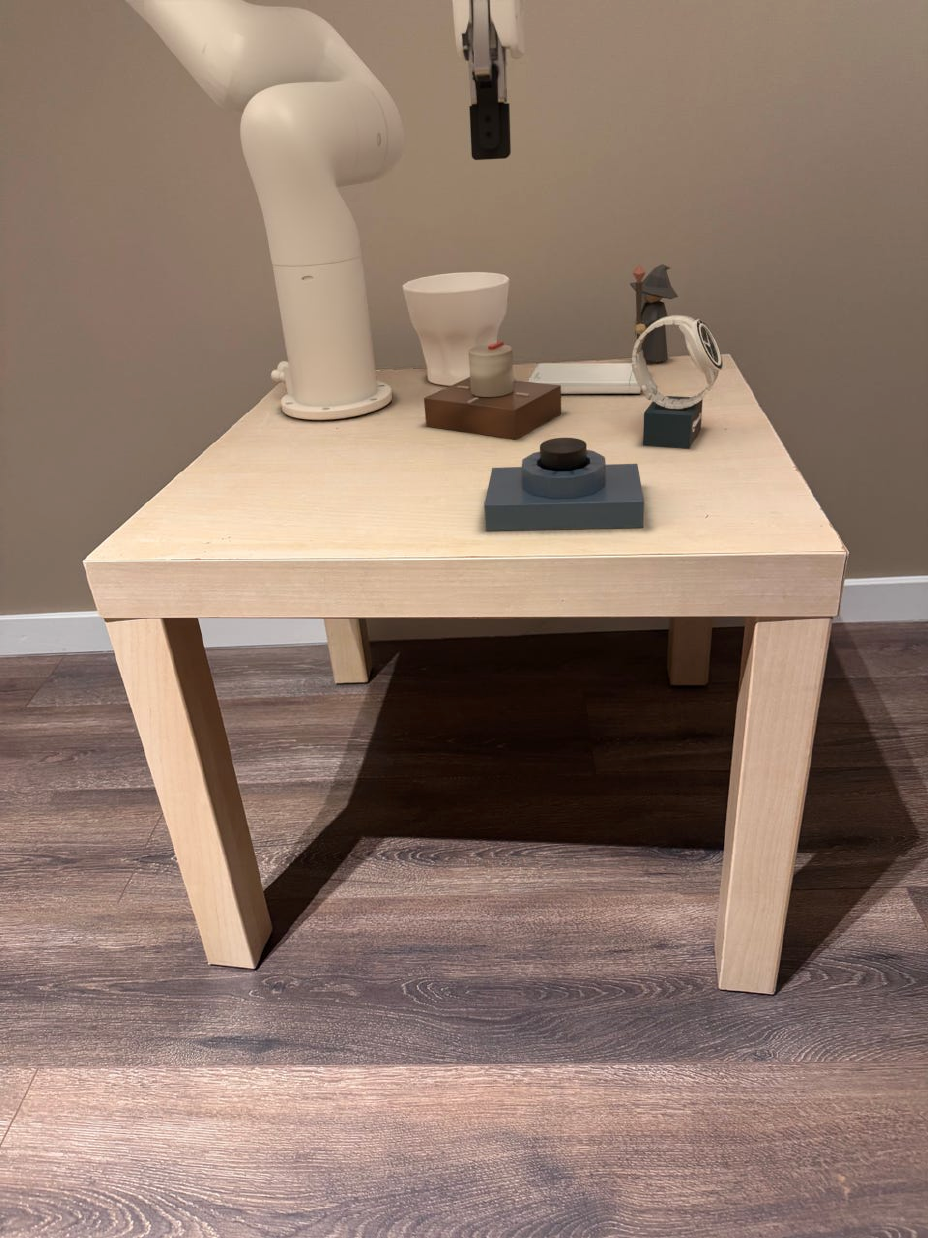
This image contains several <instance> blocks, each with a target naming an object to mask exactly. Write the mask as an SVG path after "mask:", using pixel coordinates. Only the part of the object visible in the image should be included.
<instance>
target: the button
mask: <svg viewBox="0 0 928 1238" xmlns="http://www.w3.org/2000/svg"><path fill="white" fill-rule="evenodd" d="M587 448H588V447H587V442H586V441H584V440H582V439H579V438H575V437H556V438H550V439H547V440H544V441H542V442H541V444H540V445H539V452H540V467H541V468H542V469H544V470H550V471H556V472H558V471H574V470H578V469H582V468H584V467H586V466H587V450H588V449H587Z"/></svg>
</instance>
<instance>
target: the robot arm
mask: <svg viewBox="0 0 928 1238" xmlns="http://www.w3.org/2000/svg"><path fill="white" fill-rule="evenodd" d="M124 1H125V2H126V3H127V4H128V5H129V6H130V7H131V9H133V10H134V11H135V12H136V13H137V14H138V15H139V16H140V17H141V18H142V19H143V20H144V21H145V22H146V23H147V24H148V25H149V26H150V27H151V28H152V30H154V31H155V33H156V34H157V35H158V36H159V37H160V39H161V41H162V42H163V44H165V46H166V47H167V49H168V50H170V52H171V53H172V54H173V55H174V56H175V58H176V59H177V60H178V61H179V63H180V64H181V65H182V66H183V67H184V68H185V70H186V71H187V72H188V73H189V74H190V75H191V77H192V78H193V80H195V82H196V83H197V84H198V86H199V87H200V88H201V89H202V90H203V91H204V93H205V94H206V95H207V96H208V97H209V98H210V99H211V100H212V101H213V102H214V103H215V104H216V105H217V106H218V107H220V108H221V109H222V110H224V111H226V112H228V113H231V114H234V115H235V114H236V115H241V118H240V126H239V135H240V137H239V138H240V143H241V148H242V153H243V157H244V160H245V162H246V166H247V169H248V172H249V175H250V177H251V180H252V183H253V186H254V189H255V193H256V196H257V198H258V202H259V206H260V210H261V214H262V218H263V223H264V228H265V233H266V238H267V243H268V250H269V255H270V260H271V264H272V272H273V276H274V277H273V278H274V283H275V290H276V296H277V301H278V308H279V313H280V319H281V327H282V331H283V339H284V343H285V344H284V345H285V350H286V357H287V360H282V361H280V362H279V363H278V365H277V368H276V369H273V370H272V371H271V374H270V379H271V380H272V381H273V382H275V383H282V384H283V383H285V387H286V394H285V395H283V396H282V398H281V399H280V405H281V411H282V412H283V413H284V414H285V415H287V416H289V417H292V418H295V419H300V420H311V421H328V420H337V419H338V420H339V419H347V418H352V417H357V416H362V415H366V414H369V413H372V412H376V411H377V410H380V409H382V408H385V407H386V406H388V404H390V402H392V400H393V390H392V388H391V386H390V385H388V384H387V383H384V382H382V381H378V380H377V373H376V372H377V370H376V364H375V363H376V362H375V354H374V353H375V352H374V345H373V337H372V328H371V327H372V326H371V319H370V311H369V302H368V294H367V285H366V276H365V268H364V261H363V254H362V245H361V238H360V233H359V230H358V229H359V228H358V227H357V223H356V221H355V219H354V217H353V214H352V213H351V210H350V209H349V207H348V205H347V204H346V201H344V198H343V197H342V195H341V193H340V191H339V188H341V187H342V188H343V187H348V186H355V185H361V184H365V183H366V184H367V183H371V182H374V181H378V180H380V179H383V178H385V177H387V175H389V174H391V173H392V172H393V171H394V170H395V168H396V167H397V166H398V164H399V163H400V161H401V159H402V156H403V153H404V148H405V130H404V124H403V121H402V116H401V114H400V112H399V108H398V107H397V105H396V103H395V101H394V99H393V98H392V96H391V94H390V93H389V92H388V90H387V89H386V87H385V86H384V85H383V84H382V83H381V81H380V80H379V79H378V78H377V76H376V75H375V74H374V73H373V72H372V71H371V70H370V68H369V67H368V66H367V65H366V63H364V61H363V60H362V59H361V58H360V57H359V55H358V54H357V53H356V52H355V51H354V50H353V49H352V48H351V46H350V45H349V44H348V43H347V42H346V41H345V39H344V38H343V37H342V36H341V35H340V33H338V31H337V30H336V29H335V28H334V27H333V26H332V25H331V24H330V23H329V22H328V21H326V20H325V19H324V18H322V17H321V16H319V15H317V14H316V13H314V12H312V11H311V10H309V9H304V8H301V7H296V6H295V7H293V6H276V5H275V6H273V5H271V6H270V5H261V4H254V3H250V2H248V1H245V0H124ZM523 1H524V0H451V3H452V16H453V29H454V38H455V39H454V40H455V48H456V52H457V55H458V57H460V58H461V59H462V60H464V61H465V62H468V76H469V78H468V79H469V94H470V105H469V106H468V108H469V109H468V110H469V126H470V127H469V128H470V129H469V131H470V150H471V151H470V153H471V157H472V159H473V160H474V161H485V160H486V161H487V160H499V159H500V160H502V159H508V158H509V157H510V156H511V152H512V149H511V148H512V145H511V112H510V111H511V110H510V107H511V106H510V103H509V102H508V70H507V69H508V68H507V66H508V62H507V50H509V52H510V53H509V54H510V57H511V58H512V59H515V60H520V59H522V57H523V56H524V55H525V34H524V33H525V32H524V28H525V27H524V2H523Z"/></svg>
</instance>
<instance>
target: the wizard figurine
mask: <svg viewBox="0 0 928 1238" xmlns="http://www.w3.org/2000/svg"><path fill="white" fill-rule="evenodd" d="M670 269H671V267H670V266H668V265H665V264H664V263H663V264H659V265H657V266H655V267H654V268H652V270H651V271H650V272H649V273H648V274H647V275H646V276H645V274H646V271H645V269H644V268H643V267H642V265H641V264H640V263H638V264H637V266H636V267H635V269H634V270H633V271H632V275H633V277H634V279H635V280H636V282H630V287H631V288H632V289H633V290H634V291H635V311H636V312H635V313H636V316H635V322H634V338H636V341H637V340H638V339H639V337H640V335H641V334H642V333H643V332H644V331H645V330H646V329H647V328H648V327H649V326H650V325H652V324H653V323H654V322H656V321H657V320H660V319H661V318H664V317H667V316H668V312H667V309H666V304H665V302H664V301H661V300H663V299H667V300H673V299H676V298H678V297H679V295H678V294H677V292H676V291H675V289H674V288H673V286H672V284H671V281H670V278H669V275H668V272H667V270H670ZM644 277H645V278H644ZM667 342H668V341H667V331H666V325H665V324H664V325H663V326H660V327H657V328H654V329H653V330H651V331H650V332H649V333H648V334H647V335H646V336H645V338H644V340H643V343H642V347H641V350H643V357H644V359H645V362H646V365H653V364H654V365H655V364H657V362H664V361H666V360H668V359H669V357H668V355H669V354H668V343H667Z"/></svg>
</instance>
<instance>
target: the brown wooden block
mask: <svg viewBox="0 0 928 1238" xmlns="http://www.w3.org/2000/svg"><path fill="white" fill-rule="evenodd" d="M513 380H514V391H513V392H512V393H510V394H507V395H503V396H498V397H479V396H475V395H473V394H472V393H471V383H470V377H469V378H467V379H464V380H462V381H460V382H458V383H456V384H453V385H451V386H446V387H445V388H442V389H441V390H438V391H436V392H433V393H432V394H430V395H427V396H425V397H423V402H424V414H425V416H424V417H425V425H426V427H429V428H434V429H435V428H436V429H443V430H450V431H456V432H461V433H462V432H463V433H467V434H468V433H469V434H476V435H483V436H488V437H496V438H503V439H509V440H518V439H520V438H522V437H523V436H525V435H527V434H529V433H530V432H532V431H534V430H536V429H538V428H539V427H541V426H542V425H544V424H546V423H547V422H550V421H551V420H553V419H554V418H556V417H558V416H560V415H562V394H561V385H553V384H544V383H535V382H528V381H524V380H517V379H515V378H513Z"/></svg>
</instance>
